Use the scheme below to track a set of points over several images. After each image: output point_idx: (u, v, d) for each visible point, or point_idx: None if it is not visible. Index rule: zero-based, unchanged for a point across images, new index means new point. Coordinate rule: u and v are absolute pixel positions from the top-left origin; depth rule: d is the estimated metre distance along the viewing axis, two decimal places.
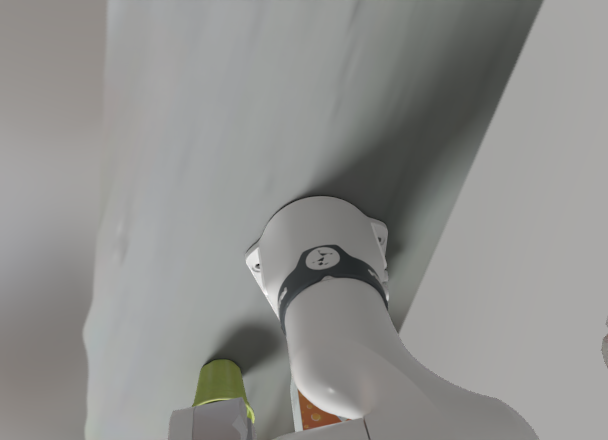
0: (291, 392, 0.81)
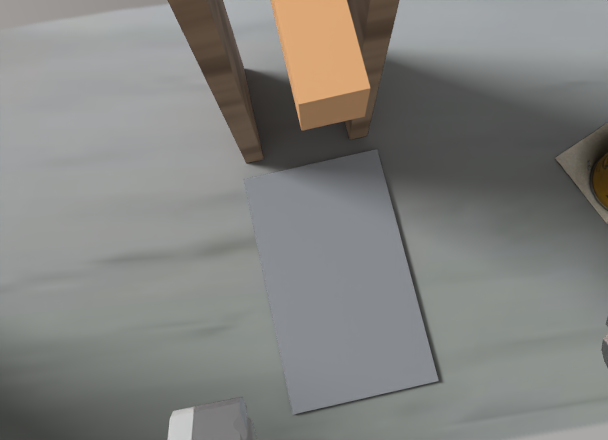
0: None
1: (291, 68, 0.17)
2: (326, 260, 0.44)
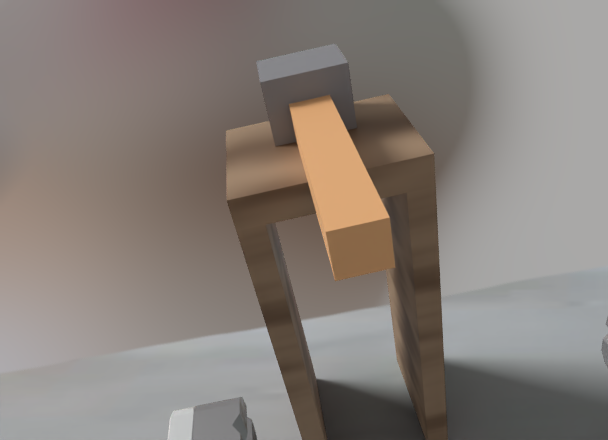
0: None
1: (321, 212, 0.20)
2: None
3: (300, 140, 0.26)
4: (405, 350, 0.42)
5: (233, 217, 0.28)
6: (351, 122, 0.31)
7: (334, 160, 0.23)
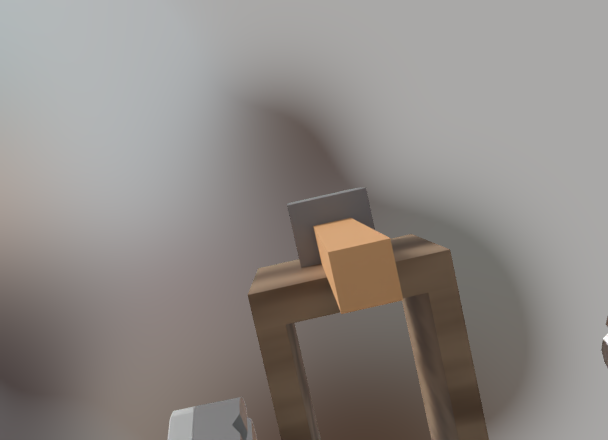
0: None
1: (326, 247, 0.21)
2: None
3: (318, 232, 0.28)
4: None
5: (253, 314, 0.28)
6: None
7: (346, 232, 0.25)
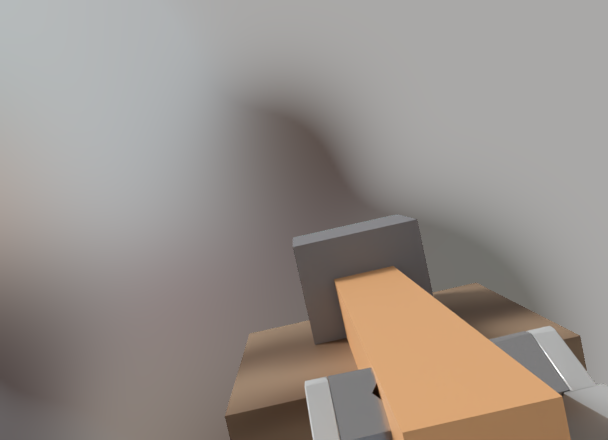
0: None
1: (389, 395, 0.09)
2: None
3: (348, 307, 0.16)
4: None
5: None
6: None
7: (408, 322, 0.13)
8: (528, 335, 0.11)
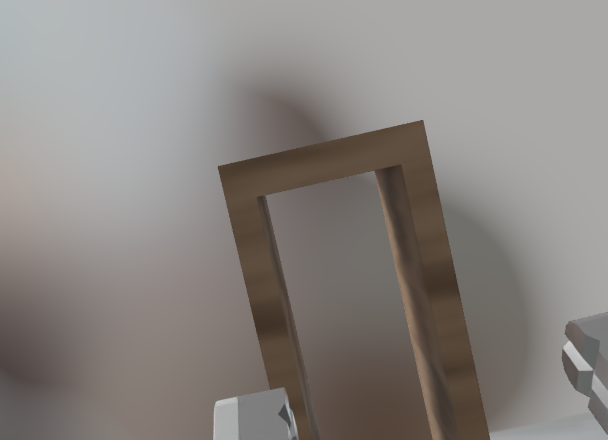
0: None
1: None
2: None
3: None
4: None
5: (223, 186, 0.27)
6: None
7: None
8: None
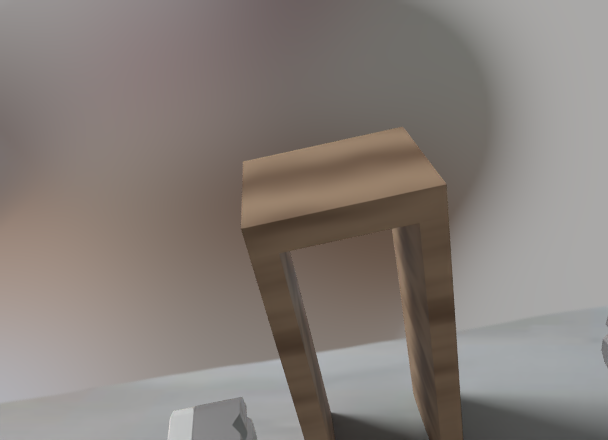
0: None
1: None
2: None
3: None
4: (421, 384, 0.41)
5: (247, 245, 0.28)
6: None
7: None
8: None
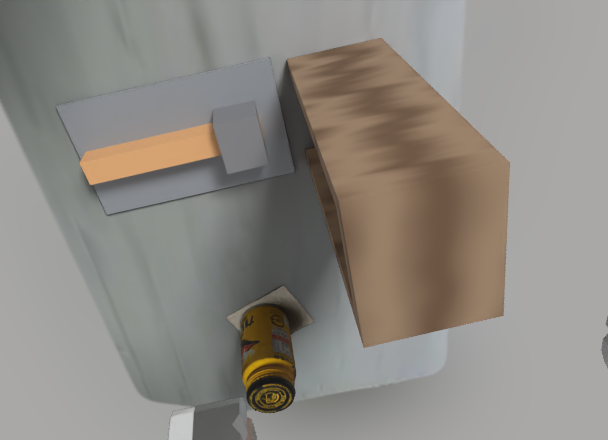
0: None
1: (93, 160, 0.48)
2: None
3: (164, 144, 0.48)
4: None
5: (335, 191, 0.28)
6: None
7: (139, 162, 0.49)
8: None
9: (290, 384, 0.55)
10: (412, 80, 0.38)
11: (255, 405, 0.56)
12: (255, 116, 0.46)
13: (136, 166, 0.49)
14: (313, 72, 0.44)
